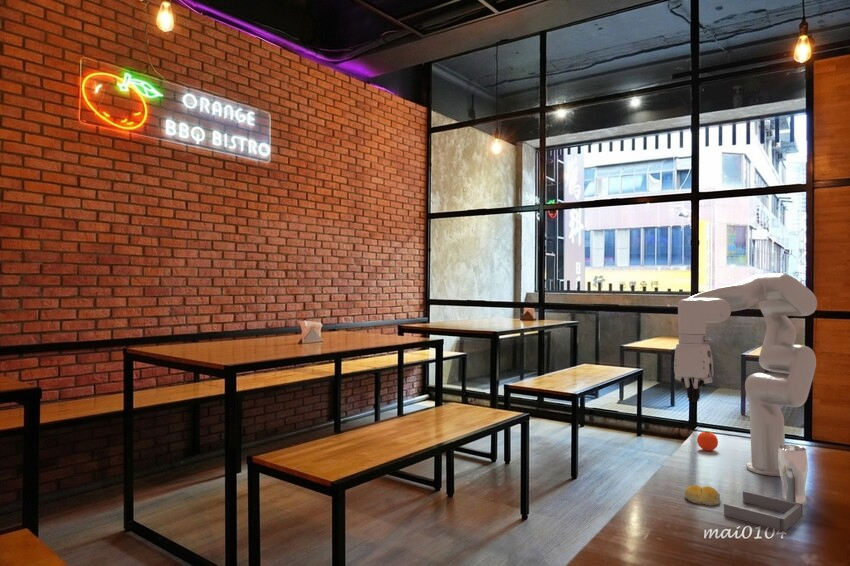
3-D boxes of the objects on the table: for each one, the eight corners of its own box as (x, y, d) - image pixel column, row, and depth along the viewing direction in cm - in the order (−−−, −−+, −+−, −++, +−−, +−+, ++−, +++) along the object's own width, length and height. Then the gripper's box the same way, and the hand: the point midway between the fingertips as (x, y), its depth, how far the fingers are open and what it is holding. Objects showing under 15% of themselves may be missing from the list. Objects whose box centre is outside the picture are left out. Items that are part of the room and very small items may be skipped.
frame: (744, 501, 155) (744, 490, 155) (802, 515, 144) (802, 504, 144) (724, 515, 146) (723, 503, 146) (784, 531, 135) (784, 519, 135)
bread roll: (686, 493, 163) (686, 479, 163) (721, 498, 158) (720, 484, 158) (682, 502, 156) (682, 488, 156) (718, 508, 151) (717, 493, 151)
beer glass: (814, 507, 150) (812, 451, 150) (785, 505, 151) (783, 451, 151) (802, 497, 156) (800, 444, 157) (775, 496, 158) (773, 444, 158)
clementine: (699, 446, 209) (698, 427, 209) (720, 448, 205) (719, 429, 205) (695, 451, 203) (695, 432, 203) (716, 454, 199) (716, 434, 199)
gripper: (723, 340, 163) (725, 402, 162) (673, 337, 174) (674, 396, 173) (713, 342, 158) (714, 406, 157) (662, 339, 169) (663, 399, 169)
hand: (693, 400), depth 165 cm, fingers closed
